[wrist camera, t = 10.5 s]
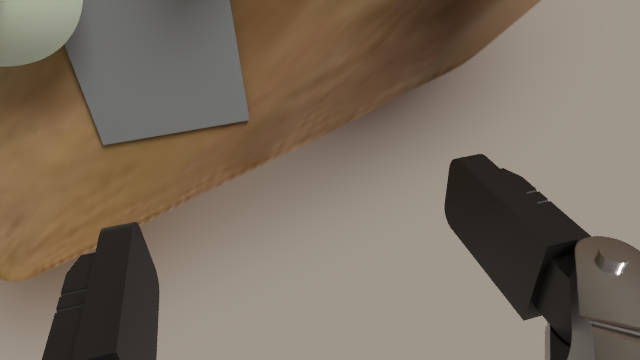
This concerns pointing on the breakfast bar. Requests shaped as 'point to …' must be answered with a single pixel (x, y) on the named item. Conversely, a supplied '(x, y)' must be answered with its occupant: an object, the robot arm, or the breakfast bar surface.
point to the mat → (157, 66)
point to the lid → (35, 28)
